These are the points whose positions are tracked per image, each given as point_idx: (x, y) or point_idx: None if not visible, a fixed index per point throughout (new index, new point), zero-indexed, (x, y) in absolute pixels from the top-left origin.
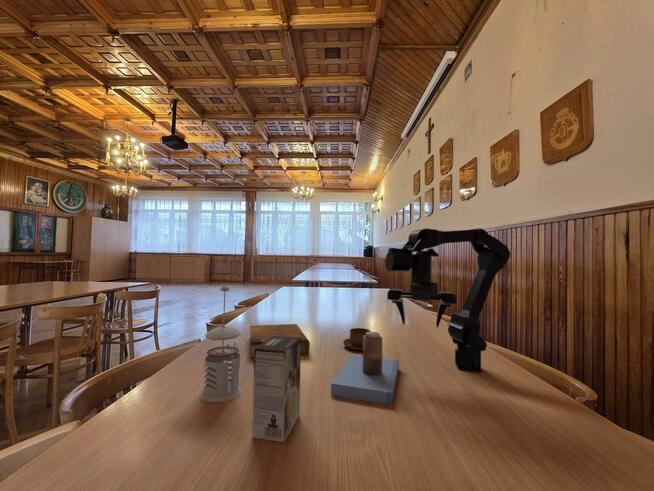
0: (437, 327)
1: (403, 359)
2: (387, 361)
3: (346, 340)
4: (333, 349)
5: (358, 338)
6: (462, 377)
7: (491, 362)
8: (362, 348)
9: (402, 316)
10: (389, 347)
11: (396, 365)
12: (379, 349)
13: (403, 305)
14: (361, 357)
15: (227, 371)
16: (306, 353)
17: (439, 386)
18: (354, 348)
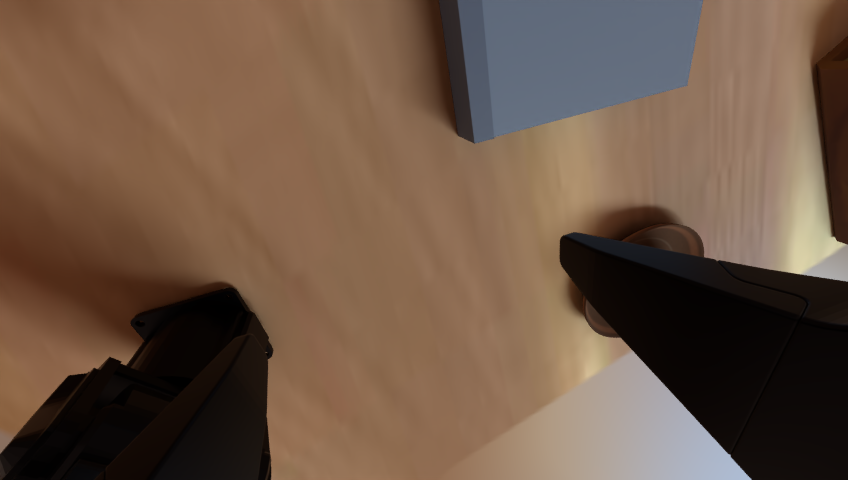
0: (243, 336)
1: (464, 259)
2: (520, 84)
3: None
4: (718, 195)
5: None
6: (182, 214)
7: None
8: (630, 237)
9: (651, 254)
10: (533, 338)
11: (468, 43)
12: None
13: (755, 446)
14: (642, 67)
15: None
16: (831, 63)
17: (224, 21)
18: (657, 225)
